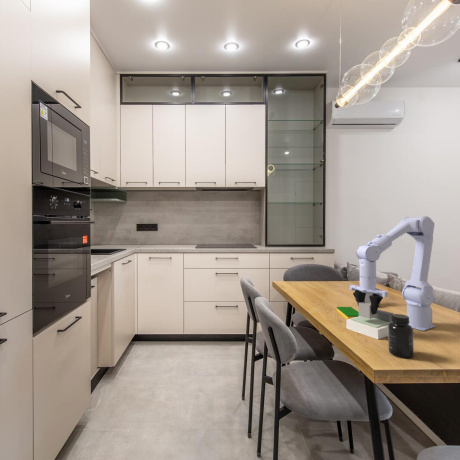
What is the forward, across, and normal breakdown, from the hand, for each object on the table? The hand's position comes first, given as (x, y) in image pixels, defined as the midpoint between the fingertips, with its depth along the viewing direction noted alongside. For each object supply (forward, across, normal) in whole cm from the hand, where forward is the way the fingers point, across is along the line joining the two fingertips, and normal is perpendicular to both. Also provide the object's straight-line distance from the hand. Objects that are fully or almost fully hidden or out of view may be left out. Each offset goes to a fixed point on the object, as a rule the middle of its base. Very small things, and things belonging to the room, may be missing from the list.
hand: (367, 312), depth 108 cm
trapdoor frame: (+8, 0, +3) cm, 8 cm away
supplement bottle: (+8, +17, -9) cm, 21 cm away
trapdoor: (+4, 0, +3) cm, 5 cm away
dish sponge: (+8, -17, +12) cm, 22 cm away
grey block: (+2, 0, 0) cm, 2 cm away
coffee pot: (+8, -26, +38) cm, 47 cm away
